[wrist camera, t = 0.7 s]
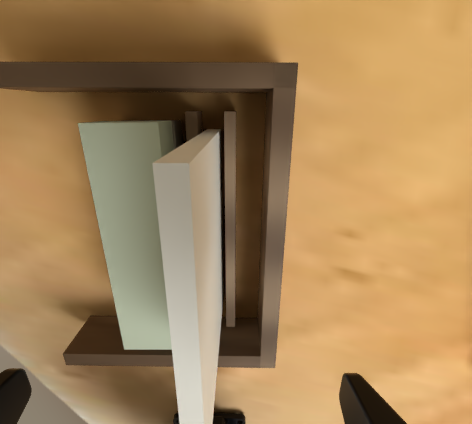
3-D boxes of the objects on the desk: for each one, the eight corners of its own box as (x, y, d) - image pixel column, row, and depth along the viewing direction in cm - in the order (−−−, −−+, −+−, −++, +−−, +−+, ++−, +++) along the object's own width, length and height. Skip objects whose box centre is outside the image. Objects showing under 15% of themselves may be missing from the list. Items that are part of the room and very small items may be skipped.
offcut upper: (189, 319, 19) (182, 349, 16) (138, 319, 19) (124, 349, 16) (171, 120, 14) (158, 122, 12) (104, 121, 14) (77, 123, 12)
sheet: (223, 295, 20) (207, 484, 10) (212, 295, 20) (185, 484, 10) (221, 129, 16) (189, 163, 6) (207, 129, 16) (152, 163, 6)
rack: (269, 328, 21) (275, 367, 18) (92, 326, 22) (66, 365, 18) (285, 72, 15) (298, 62, 12) (33, 72, 15) (-23, 61, 12)
